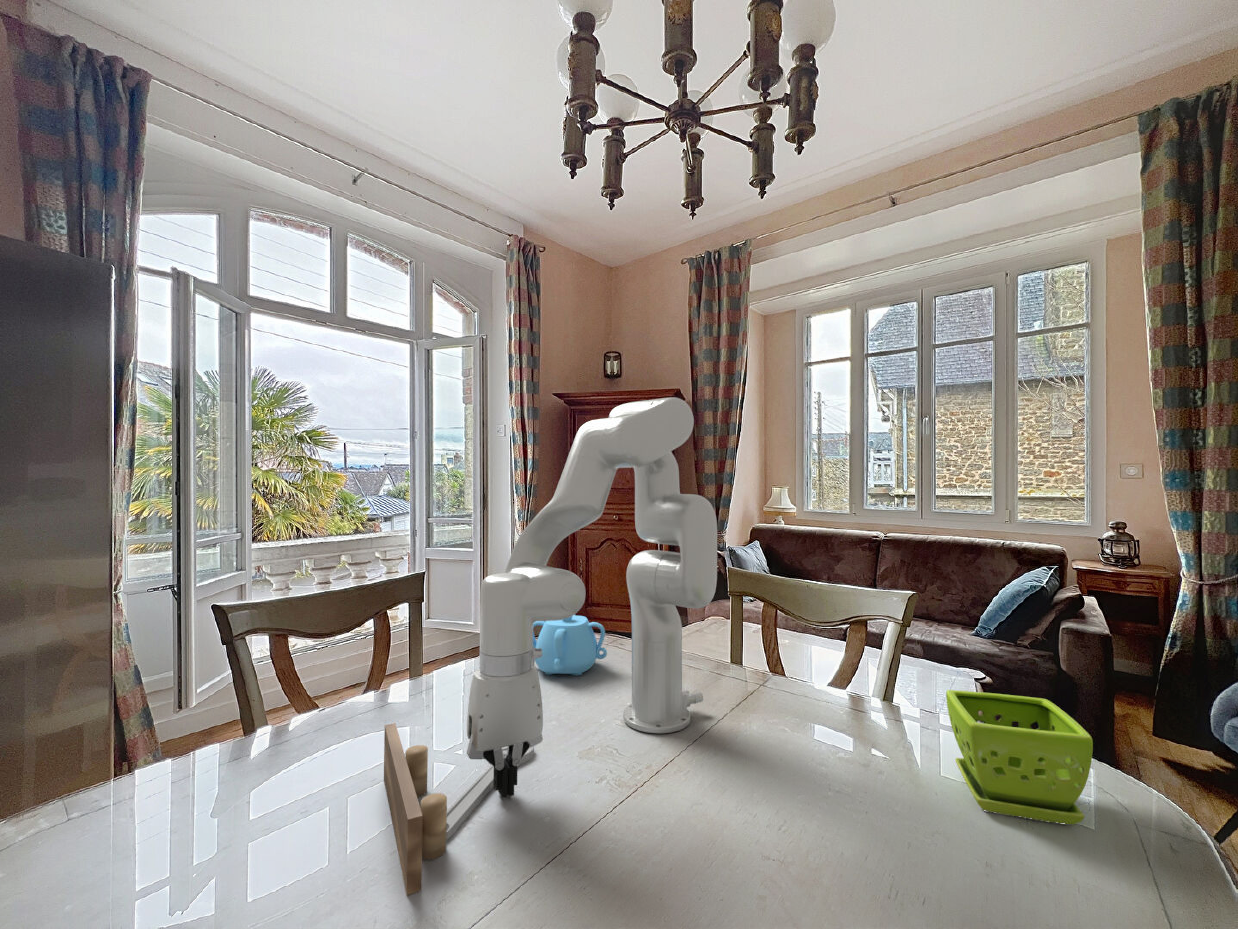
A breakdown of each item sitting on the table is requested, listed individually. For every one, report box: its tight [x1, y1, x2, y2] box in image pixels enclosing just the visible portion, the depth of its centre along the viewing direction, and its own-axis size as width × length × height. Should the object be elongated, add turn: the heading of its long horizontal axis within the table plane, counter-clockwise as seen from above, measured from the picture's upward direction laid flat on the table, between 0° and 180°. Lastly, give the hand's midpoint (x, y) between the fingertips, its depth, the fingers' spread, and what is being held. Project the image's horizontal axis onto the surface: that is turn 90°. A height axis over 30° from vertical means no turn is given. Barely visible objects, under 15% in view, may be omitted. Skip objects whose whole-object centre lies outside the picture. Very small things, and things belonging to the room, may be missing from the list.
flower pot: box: [945, 689, 1094, 826], centre depth 76 cm, size 14×14×13 cm
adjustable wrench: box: [446, 746, 535, 841], centre depth 79 cm, size 25×6×2 cm, turn 161°
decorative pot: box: [533, 614, 608, 676], centre depth 130 cm, size 16×16×14 cm
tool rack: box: [383, 722, 448, 896], centre depth 71 cm, size 5×26×8 cm, turn 29°
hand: (505, 792), depth 77 cm, fingers closed
